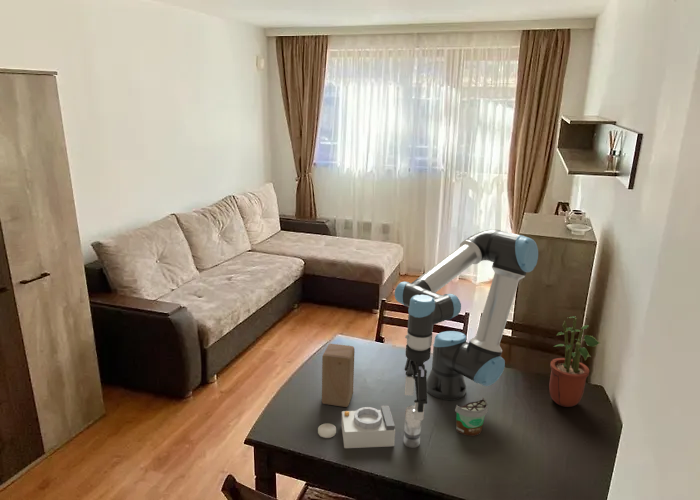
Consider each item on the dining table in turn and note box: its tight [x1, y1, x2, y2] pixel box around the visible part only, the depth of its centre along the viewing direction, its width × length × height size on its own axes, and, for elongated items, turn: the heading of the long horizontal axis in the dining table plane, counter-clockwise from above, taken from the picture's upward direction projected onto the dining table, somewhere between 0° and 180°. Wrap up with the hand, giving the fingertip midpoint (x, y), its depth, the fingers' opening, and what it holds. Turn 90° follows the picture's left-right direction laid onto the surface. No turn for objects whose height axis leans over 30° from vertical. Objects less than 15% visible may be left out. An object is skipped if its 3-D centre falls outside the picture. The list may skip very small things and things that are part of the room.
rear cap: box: [317, 422, 337, 439], centre depth 165 cm, size 6×6×2 cm
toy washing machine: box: [340, 405, 396, 449], centre depth 163 cm, size 16×11×8 cm
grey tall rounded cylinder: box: [403, 404, 422, 448], centre depth 160 cm, size 5×5×12 cm
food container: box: [454, 397, 489, 437], centre depth 166 cm, size 12×6×10 cm, turn 117°
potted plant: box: [548, 315, 601, 408], centre depth 183 cm, size 17×16×35 cm
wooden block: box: [321, 343, 355, 408], centre depth 181 cm, size 10×10×20 cm
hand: (413, 406), depth 157 cm, fingers open, 13 cm apart
